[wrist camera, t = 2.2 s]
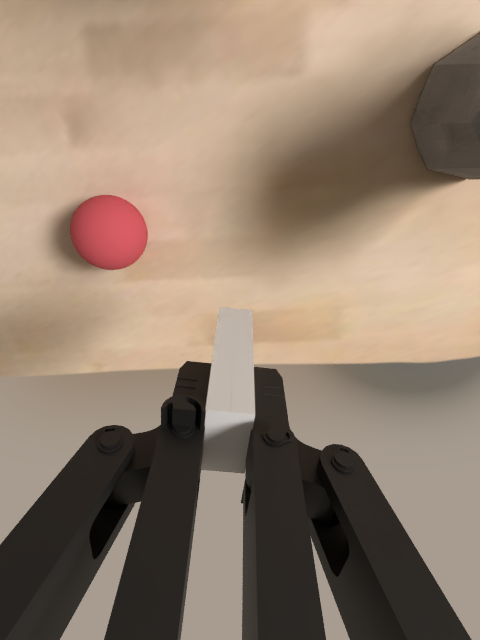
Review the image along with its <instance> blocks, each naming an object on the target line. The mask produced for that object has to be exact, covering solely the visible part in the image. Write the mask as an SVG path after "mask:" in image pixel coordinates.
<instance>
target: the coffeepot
mask: <svg viewBox="0 0 480 640" xmlns="http://www.w3.org/2000/svg"><path fill="white" fill-rule="evenodd" d="M410 125H411V128H412V131H413V133H414V136H415V140H416V144H417V148H418V150H419V152H420V154H421V156H422V158H423V160H424V163H425V166H426V168H427V169H428V170H432V171H436V172H440V173H445V174H449V175H453V176H458V177H462V178H466V179H480V33H479V34H478V35H476V36H475V37H473V38H472V39H470V40H469V41H467V42H466V43H464V44H462V45H461V46H459V47H458V48H457V49H455V50H454V51H453V52H452V53H450V54H449V55H447V56H446V57H444V58H443V59H441V60H440V61H438V62H437V63H435V64H434V65H433V68H432V70H431V72H430V75H429V77H428V79H427V82H426V84H425V86H424V88H423V90H422V92H421V94H420V97H419V100H418V103H417V107H416V110H415V114H414V116H413V119H412V122H411V124H410Z"/></svg>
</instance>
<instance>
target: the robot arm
mask: <svg viewBox="0 0 480 640" xmlns="http://www.w3.org/2000/svg"><path fill="white" fill-rule="evenodd" d="M245 467H246V479H245V484H244V490H243V494H242V500H241V503H243V610H242V611H243V613H242V614H243V615H242V640H326V636H325V630H324V623H323V616H322V610H321V603H320V597H319V590H318V583H317V577H316V570H315V564H314V558H313V550H312V544H311V538H312V541H313V543H314V546H315V549H316V551H317V554H318V556H319V559H320V562H321V564H322V567H323V570H324V572H325V575H326V578H327V580H328V583H329V585H330V588H331V591H332V593H333V596H334V599H335V601H336V604H337V607H338V609H339V612H340V615H341V617H342V620H343V622H344V625H345V628H346V630H347V633H348V636H349V638H350V640H471V639H470V637H469V635H468V633H467V632H466V630H465V628H464V627H463V625H462V623H461V622H460V620H459V619H458V617H457V615H456V613H455V612H454V610H453V609H452V607H451V605H450V604H449V602H448V601H447V599H446V597H445V595H444V594H443V592H442V590H441V589H440V587H439V585H438V584H437V582H436V581H435V579H434V577H433V575H432V574H431V572H430V571H429V569H428V567H427V566H426V564H425V562H424V561H423V559H422V557H421V556H420V554H419V552H418V551H417V549H416V548H415V546H414V544H413V543H412V541H411V539H410V538H409V536H408V534H407V533H406V531H405V529H404V528H403V526H402V524H401V523H400V521H399V519H398V518H397V516H396V514H395V513H394V511H393V509H392V508H391V506H390V505H389V503H388V501H387V500H386V498H385V496H384V495H383V493H382V492H381V490H380V488H379V486H378V485H377V483H376V481H375V480H374V478H373V477H372V475H371V473H370V471H369V470H368V468H367V467H366V465H365V463H364V462H363V460H362V459H361V458H360V456H359V455H358V454H357V453H356V452H355V451H353V450H352V449H350V448H348V447H345V446H343V445H338V444H337V445H336V444H332V445H329V446H326V447H325V448H324V449H323V450H322V451H321V450H318V449H315V448H312V447H310V446H308V445H305V444H303V443H302V442H300V441H299V440H297V438H296V437H295V436H294V434H293V432H292V431H291V430H290V427H289V423H288V415H287V408H286V401H285V394H284V386H283V380H282V377H281V376H280V374H279V373H278V371H277V370H276V369H269V368H259V367H254V359H253V328H252V310H245V309H236V308H226V307H219V314H218V321H217V328H216V336H215V343H214V350H213V357H212V364H211V363H201V362H191V361H187V362H186V363H185V364H184V365H183V366H182V367H181V368H180V369H179V373H178V377H177V381H176V385H175V389H174V392H173V396H172V397H170V398H169V399H167V400H166V401H165V402H164V403H163V405H162V407H161V425H160V426H159V427H157V428H155V429H153V430H151V431H147V432H143V433H137V434H132V433H131V432H130V430H129V429H127V428H125V427H123V426H118V425H111V426H105V427H103V428H100V429H98V430H96V431H95V432H94V433H93V434H92V435H90V436H89V438H88V439H87V440H86V441H85V443H84V444H83V445H82V446H81V447H80V449H79V450H78V451H77V452H76V453H75V455H74V456H73V457H72V458H71V459H70V461H69V462H68V463H67V464H66V466H65V467H64V468H63V469H62V471H61V472H60V473H59V474H58V475H57V477H56V478H55V479H54V480H53V481H52V483H51V484H50V485H49V486H48V487H47V489H46V490H45V491H44V492H43V494H42V495H41V496H40V497H39V498H38V500H37V501H36V502H35V503H34V505H33V506H32V507H31V508H30V509H29V511H28V512H27V513H26V514H25V515H24V517H23V518H22V519H21V520H20V521H19V523H18V524H17V525H16V526H15V528H14V529H13V530H12V531H11V532H10V534H9V535H8V536H7V537H6V538H5V540H4V541H3V542H2V543H1V545H0V640H60V638H61V636H62V634H63V633H64V631H65V629H66V627H67V625H68V624H69V622H70V620H71V618H72V616H73V615H74V613H75V611H76V609H77V607H78V606H79V604H80V602H81V600H82V598H83V597H84V594H85V593H86V591H87V589H88V588H89V586H90V584H91V582H92V580H93V579H94V577H95V574H96V573H97V571H98V569H99V568H100V566H101V564H102V562H103V560H104V559H105V557H106V555H107V553H108V551H109V550H110V548H111V546H112V544H113V542H114V540H115V539H116V537H117V535H118V533H119V532H120V530H121V528H122V526H123V524H124V522H125V520H126V519H127V517H128V515H129V514H130V512H131V510H132V508H133V506H134V504H135V503H136V502H140V501H141V504H140V508H139V512H138V515H137V519H136V523H135V527H134V530H133V534H132V538H131V542H130V545H129V549H128V553H127V556H126V560H125V564H124V568H123V572H122V575H121V579H120V582H119V586H118V590H117V594H116V597H115V601H114V605H113V609H112V612H111V616H110V620H109V624H108V627H107V631H106V635H105V638H104V640H180V638H181V630H182V622H183V613H184V606H185V597H186V589H187V581H188V572H189V565H190V556H191V549H192V540H193V532H194V524H195V516H196V508H197V500H198V491H199V482H200V473H201V470H211V471H223V472H235V473H245ZM310 536H311V537H310Z"/></svg>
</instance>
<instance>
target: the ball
mask: <svg viewBox="0 0 480 640" xmlns="http://www.w3.org/2000/svg"><path fill="white" fill-rule="evenodd" d="M70 234H71V239H72V242H73V245H74V247H75V249H76V250H77V252H78V253H79V254H80V255H81V257H82V258H83V259H85V260H86V261H87V262H89V263H90V264H92V265H94V266H96V267H99V268H102V269H107V270H117V269H122V268H125V267H128V266H129V265H131V264H133V263H134V262H136V261H137V260H138V259H139V258H140V256H141V255H142V254H143V252H144V250H145V247H146V244H147V237H148V233H147V227H146V223H145V221H144V219H143V217H142V215H141V213H140V212H139V211H138V210H137V208H135V207H134V206H133V205H132V204H131V203H129V202H128V201H126V200H124V199H122V198H120V197H117V196H112V195H99V196H95V197H92V198H90V199H88V200H86V201H85V202H83V203H82V204H81V205H80V206H79V207H78V208H77V210H76V211H75V213H74V215H73V217H72V220H71V225H70Z"/></svg>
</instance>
